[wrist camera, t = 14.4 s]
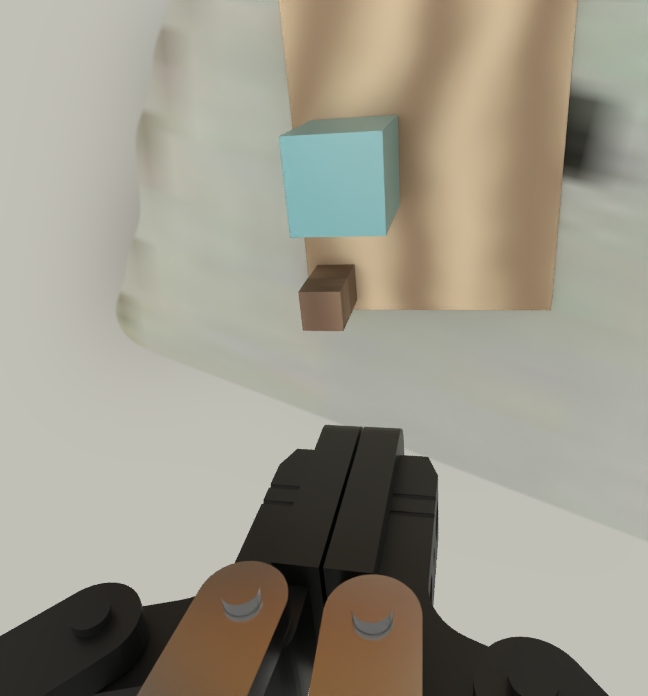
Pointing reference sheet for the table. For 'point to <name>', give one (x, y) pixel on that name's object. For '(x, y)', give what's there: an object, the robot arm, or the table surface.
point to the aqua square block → (341, 176)
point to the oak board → (446, 140)
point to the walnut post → (328, 297)
